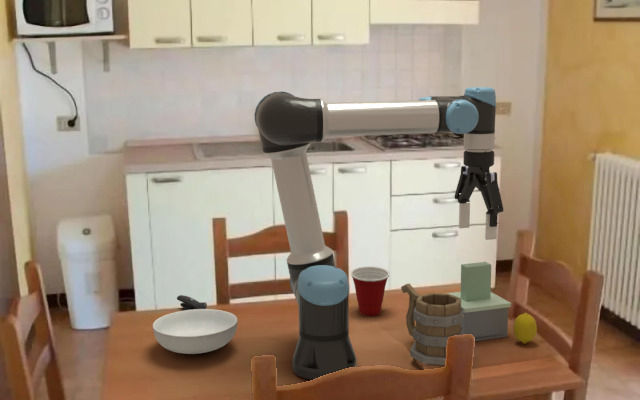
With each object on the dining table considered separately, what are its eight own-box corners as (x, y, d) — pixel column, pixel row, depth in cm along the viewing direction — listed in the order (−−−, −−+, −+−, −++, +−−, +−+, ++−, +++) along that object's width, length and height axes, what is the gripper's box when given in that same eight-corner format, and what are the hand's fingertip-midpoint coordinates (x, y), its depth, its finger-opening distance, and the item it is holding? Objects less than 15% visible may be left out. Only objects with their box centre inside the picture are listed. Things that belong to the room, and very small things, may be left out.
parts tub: (465, 342, 194) (465, 311, 193) (443, 326, 206) (443, 297, 204) (507, 336, 198) (508, 306, 196) (483, 321, 209) (484, 293, 208)
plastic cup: (354, 320, 211) (353, 278, 209) (347, 308, 222) (347, 267, 220) (393, 318, 213) (393, 276, 210) (385, 306, 223) (385, 265, 221)
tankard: (475, 358, 184) (477, 297, 182) (433, 369, 178) (434, 306, 175) (424, 333, 201) (425, 277, 199) (383, 342, 195) (384, 285, 192)
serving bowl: (250, 336, 201) (249, 310, 200) (218, 367, 181) (217, 339, 180) (176, 329, 207) (175, 305, 205) (138, 359, 187) (136, 332, 186)
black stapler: (212, 322, 212) (211, 302, 211) (187, 326, 209) (186, 306, 208) (192, 304, 228) (191, 286, 227) (169, 308, 225) (168, 289, 224)
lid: (464, 316, 192) (465, 273, 190) (441, 301, 205) (441, 260, 203) (510, 310, 196) (512, 268, 194) (484, 295, 208) (485, 256, 206)
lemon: (520, 348, 190) (521, 317, 188) (509, 341, 195) (510, 310, 193) (540, 346, 191) (541, 315, 190) (528, 338, 196) (529, 308, 195)
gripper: (519, 155, 183) (517, 242, 187) (468, 143, 206) (466, 222, 210) (491, 156, 180) (489, 245, 184) (442, 145, 204) (441, 224, 208)
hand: (477, 233), depth 197 cm, fingers open, 13 cm apart
